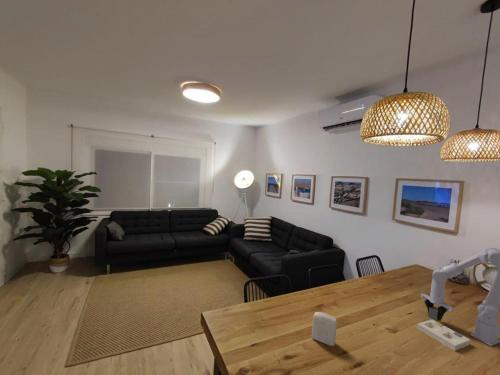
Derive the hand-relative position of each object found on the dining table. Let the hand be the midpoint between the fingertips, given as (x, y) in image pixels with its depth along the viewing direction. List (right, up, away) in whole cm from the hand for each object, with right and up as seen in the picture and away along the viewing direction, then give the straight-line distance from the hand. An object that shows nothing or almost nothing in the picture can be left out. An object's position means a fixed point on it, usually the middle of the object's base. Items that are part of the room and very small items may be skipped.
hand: (434, 316), depth 126 cm
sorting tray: (-6, -3, -12) cm, 14 cm away
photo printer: (-66, 0, -20) cm, 69 cm away
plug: (0, -2, 0) cm, 2 cm away
